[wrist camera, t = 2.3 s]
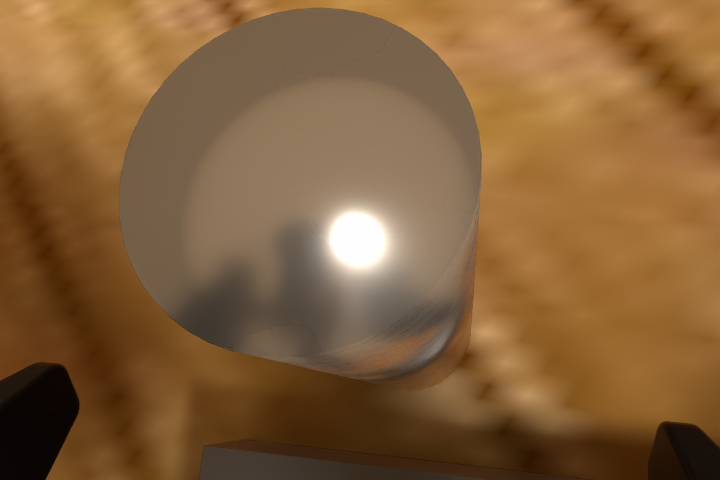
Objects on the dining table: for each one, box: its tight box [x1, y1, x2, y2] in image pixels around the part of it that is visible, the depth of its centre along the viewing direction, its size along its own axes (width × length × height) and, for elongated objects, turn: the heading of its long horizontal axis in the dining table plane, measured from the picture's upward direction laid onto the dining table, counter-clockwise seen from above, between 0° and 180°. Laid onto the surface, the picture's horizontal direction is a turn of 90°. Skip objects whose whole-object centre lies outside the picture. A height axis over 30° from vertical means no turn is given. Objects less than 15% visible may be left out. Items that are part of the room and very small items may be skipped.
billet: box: [119, 8, 482, 390], centre depth 12 cm, size 4×4×13 cm
